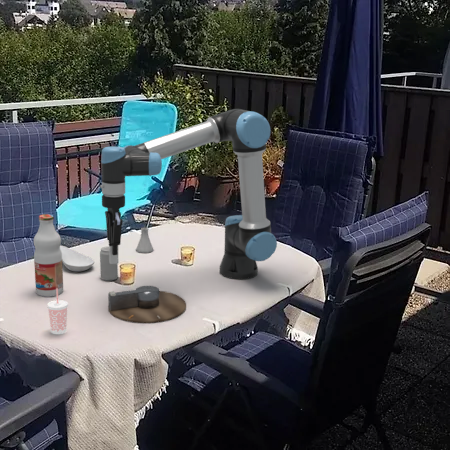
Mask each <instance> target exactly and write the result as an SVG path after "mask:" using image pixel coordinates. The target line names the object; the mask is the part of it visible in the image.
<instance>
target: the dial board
mask: <svg viewBox="0 0 450 450" xmlns="http://www.w3.org/2000/svg"><path fill="white" fill-rule="evenodd" d="M107 307H108V309H107V310H108V312H109V313H110V315H111V316H113V317H114V318H116V319H118V320H120V321H124V322H128V323H134V324H156V323H162V322H168V321H172V320H174V319H176V318H178V317H180V316H181V315H183V314H185V311H186V310H187V302H186V301H185V299H184V298H183V297H181V296H179V295H178V294H175V293H172V292H169V291H163V290H159V305H158V306H157V307H154V308H140V307H131V308H124V309H117V310H110V309H109V304H108V306H107Z"/></svg>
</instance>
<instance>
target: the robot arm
mask: <svg viewBox="0 0 450 450" xmlns="http://www.w3.org/2000/svg"><path fill="white" fill-rule="evenodd" d="M270 136H271V126H270V123H269V121H268V120H267V118H266V117H265V116H263V115H262V114H260V113H259V112H256V111H250V110H245V109H241V108H233V109H229V110H227V111H224V112H220V113H218V114H216V115H213V116H210V117H207V119H206V121H204V122H201V123H199V124H195V125H191V126H189V127H186V128H183V129H180V130H177V131H174V132H172V133H167V134H165V135H162V136H160V137H157V138H156V137H155V138H153V139H151V140H148V141H144V142H142V143H138V144H136V145H132V144H131V145H129V144H127V145H125V146H124V147H122V146H114V145H113V146H106V147H104V148H102V150H101V158H100V159H101V161H100V163H101V164H100V165H101V184H100V186H99V187H100V189H101V193H102V195H101V206H102V207H103V208H105V209H107V210H105V212H104V214H105V223H106V225H105V226H106V237H107V238H106V239H107V241H108V247H109V263H110V264H119V246H120V245H121V244H122V243H121V239H122V226H123V223H124V221H123V219H122V213H121V212H120V211H121V208H124V207H125V206H126V196H125V195H126V177H142V176H143V177H145V176H146V177H148V176H149V177H151V176H158V175H160V173H161V172H162V167H163V165H162V164H163V163H162V162H163V161H162V160H164V159H166V158H170V157H172V156H175V155H177V154H181V153H184V152H187V151H190V150H192V149H195V148H198V147H201V146H205V145H207V144H210V143H215V144H218V143H221V142H228V141H229V142H230V141H231V142H232V143H231V144H232V151H233V153H234V154H235V155H237V165H238V177H239V189H240V190H239V191H240V203H241V214H239V215H237V214H236V215H230V216H228V217H226V218H225V222H224V223H225V224H224V251H223V252H224V253H223V256H222V259H221V261H220V265H219V268H218V269H219V274H220V275H221V276H222V277H224V278H229V279H232V280H233V279H234V280H246V279H253V278H254V277H256V276H257V275H258V274H259V272H258V271H259V268H258V263H257V262H264V261H266V260H269V259H270V258H271V257H272V256H273V255H274V254H275V251H276V250H277V247H278V246H277V245H278V242H277V238H276V237H275V235H274V234H273V233H272V227H271V226H272V224H271V221H270V220H269V219H268V218H267V212H266V211H267V210H266V199H265V198H266V197H265V196H266V195H265V194H266V193H265V180H264V164H263V154H264V152H266V150H267V146H266V145H267V142H268V140H270Z"/></svg>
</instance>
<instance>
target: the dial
mask: <svg viewBox="0 0 450 450" xmlns="http://www.w3.org/2000/svg"><path fill="white" fill-rule="evenodd" d="M159 291H160V288H159V287H157V286H154V285H142V286H139V287H137V288H136V289H131V290H126V291H124V290H123V291H119V292H115V291H114V290H113V291H108V296H107V297H108V305H109V309H110V310H117V309H124V308H131V307H140V308H154V307H157V306H158V305H159ZM109 309H108V310H109Z"/></svg>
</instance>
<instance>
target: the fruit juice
mask: <svg viewBox="0 0 450 450" xmlns="http://www.w3.org/2000/svg"><path fill="white" fill-rule="evenodd" d="M38 222H39V227H38V230H37V232H36V234H35V235H34V237H33V244H34V248H35V250H34V253H33V260H34V261H33V262H34V279H35V280H34V281H35V282H34V283H35V292H36V294H37V295H38V296H40V297H57V296H56V288H58V296H59V295H61V294H62V293H63V292H64V275H63V274H64V273H63V261H62V253H61V250H60V246H61V243H62V240H61V236H60V234H59V233H58V231H56V228H55V225H54V215H53V214H50V213H47V214H46V213H45V214H40V215H38Z"/></svg>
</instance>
